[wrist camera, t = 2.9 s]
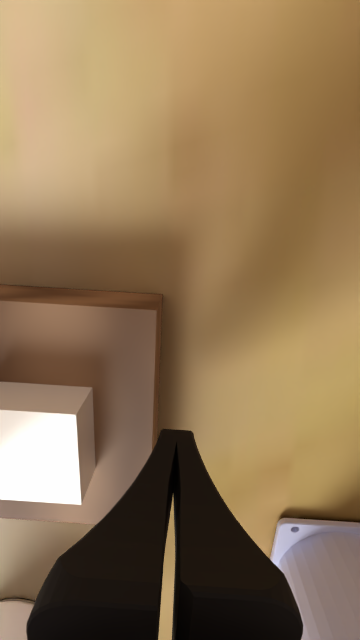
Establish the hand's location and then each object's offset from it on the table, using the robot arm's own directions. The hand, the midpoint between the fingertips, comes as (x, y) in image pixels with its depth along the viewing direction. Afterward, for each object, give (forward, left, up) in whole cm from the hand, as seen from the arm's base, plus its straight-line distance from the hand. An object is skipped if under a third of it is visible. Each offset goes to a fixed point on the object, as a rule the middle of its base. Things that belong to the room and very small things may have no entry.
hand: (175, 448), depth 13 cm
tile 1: (+6, 0, -1) cm, 6 cm away
